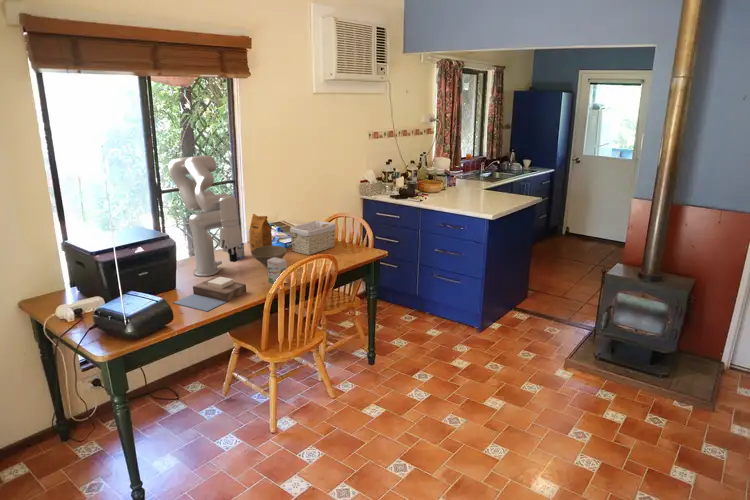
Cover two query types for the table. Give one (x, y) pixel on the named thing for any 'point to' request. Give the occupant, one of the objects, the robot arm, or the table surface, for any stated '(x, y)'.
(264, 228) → the coffee package
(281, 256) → the bowl
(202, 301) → the mat
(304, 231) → the storage basket
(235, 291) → the brown flat block
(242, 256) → the medicine box
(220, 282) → the coaster
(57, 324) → the table surface
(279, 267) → the ink box
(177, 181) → the robot arm
